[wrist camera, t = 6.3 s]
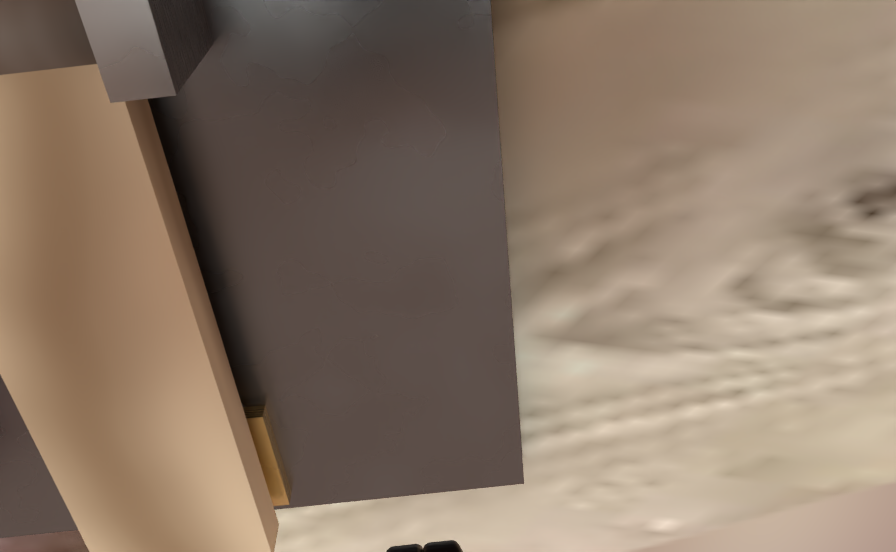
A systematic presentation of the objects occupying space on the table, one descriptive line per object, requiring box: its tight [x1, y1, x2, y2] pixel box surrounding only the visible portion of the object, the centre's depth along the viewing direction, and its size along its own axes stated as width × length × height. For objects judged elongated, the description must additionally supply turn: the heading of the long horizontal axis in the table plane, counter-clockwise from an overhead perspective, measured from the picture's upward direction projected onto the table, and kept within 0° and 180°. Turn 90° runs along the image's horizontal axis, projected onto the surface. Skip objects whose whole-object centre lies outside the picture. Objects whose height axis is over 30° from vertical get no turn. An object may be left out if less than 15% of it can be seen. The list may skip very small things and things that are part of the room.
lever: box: [0, 0, 279, 552], centre depth 19 cm, size 5×16×2 cm, turn 6°
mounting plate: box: [0, 0, 524, 538], centre depth 19 cm, size 20×18×4 cm
